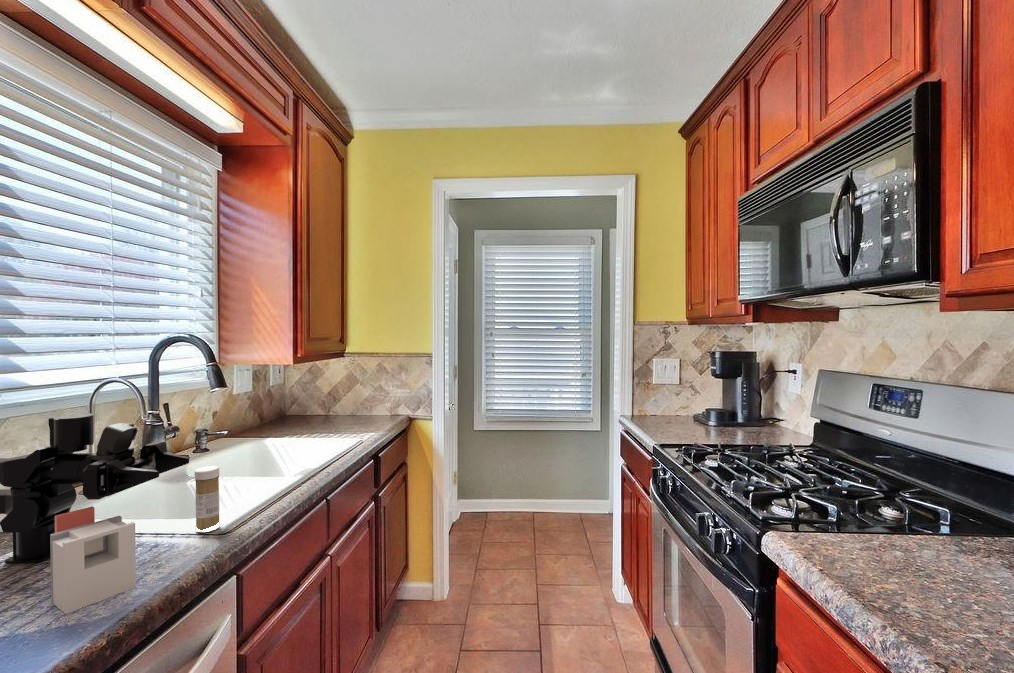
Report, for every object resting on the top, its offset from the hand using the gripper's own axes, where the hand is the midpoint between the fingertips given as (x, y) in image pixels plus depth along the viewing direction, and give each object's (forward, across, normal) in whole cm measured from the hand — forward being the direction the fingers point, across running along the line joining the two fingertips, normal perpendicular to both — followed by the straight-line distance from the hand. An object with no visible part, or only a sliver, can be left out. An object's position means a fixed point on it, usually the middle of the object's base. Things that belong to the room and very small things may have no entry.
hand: (174, 467), depth 92 cm
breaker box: (-3, -15, +17) cm, 23 cm away
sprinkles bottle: (+1, +10, +17) cm, 19 cm away
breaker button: (-7, -12, +11) cm, 18 cm away
